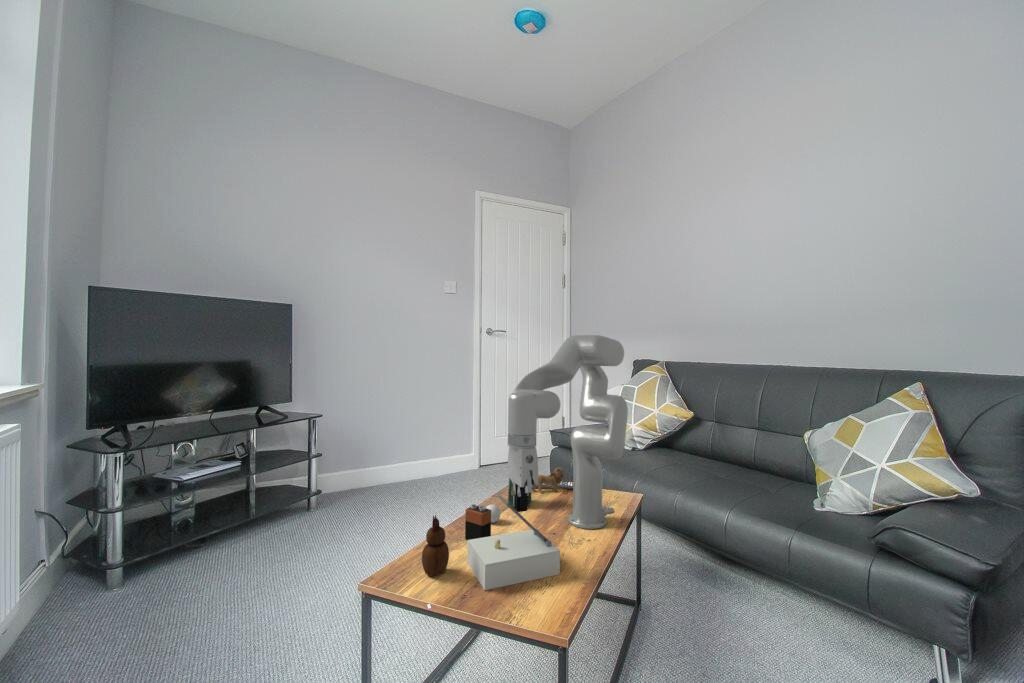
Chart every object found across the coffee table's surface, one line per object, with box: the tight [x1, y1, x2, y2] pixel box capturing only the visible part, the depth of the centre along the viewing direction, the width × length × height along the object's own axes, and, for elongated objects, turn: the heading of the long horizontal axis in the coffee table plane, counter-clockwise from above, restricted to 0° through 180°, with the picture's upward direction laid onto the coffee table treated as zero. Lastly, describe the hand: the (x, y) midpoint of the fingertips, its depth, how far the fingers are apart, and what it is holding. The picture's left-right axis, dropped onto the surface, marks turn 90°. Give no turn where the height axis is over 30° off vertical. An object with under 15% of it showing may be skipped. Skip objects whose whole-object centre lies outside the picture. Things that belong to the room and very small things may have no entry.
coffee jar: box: [507, 478, 532, 508], centre depth 158 cm, size 10×8×19 cm
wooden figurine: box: [421, 515, 450, 578], centre depth 109 cm, size 7×6×15 cm
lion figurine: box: [532, 467, 565, 494], centre depth 173 cm, size 15×5×9 cm, turn 111°
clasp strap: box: [498, 494, 549, 544], centre depth 113 cm, size 17×6×1 cm
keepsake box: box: [466, 528, 561, 591], centre depth 112 cm, size 20×14×8 cm
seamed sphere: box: [485, 503, 501, 524], centre depth 141 cm, size 8×6×6 cm
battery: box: [464, 504, 492, 541], centre depth 128 cm, size 4×7×10 cm, turn 55°
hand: (520, 510), depth 113 cm, fingers closed
